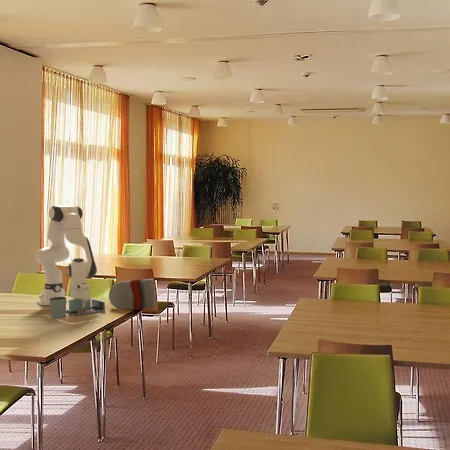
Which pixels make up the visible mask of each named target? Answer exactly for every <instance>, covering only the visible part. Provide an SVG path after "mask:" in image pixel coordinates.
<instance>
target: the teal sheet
mask: <svg viewBox="0 0 450 450" xmlns="http://www.w3.org/2000/svg"><path fill="white" fill-rule="evenodd" d="M81 304H82V300H79V299H74V298H72V299H68V310H69V312H71V311H77V310H84V309H91V307H92V298H91V297H90V299H89V300H88V301H86V303H85V307H81Z"/></svg>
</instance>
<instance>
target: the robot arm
mask: <svg viewBox="0 0 450 450" xmlns="http://www.w3.org/2000/svg"><path fill="white" fill-rule="evenodd" d="M48 213H49V214H48V215H49V219H50V220H49V225H48V230H47V239H48V240H49V241H50V243H51V246H48V247H47V246H46V247H42V248H39V249H38V250H37V251H36V252H35V259H36V262H37V263H39V264H40V265H41V267H42V270H43V271H44V282H45V283H44V287H43V288H44V289H43V290H42V291H41V293H40V294H39V295H38V298H39V300H36V303H38V305H41V306H50V301H49V299H50V298H53V297H66V290H65V289H64V282H63V273H62V272H63V271H62V270H61V269H59V268H58V267H57V263H59V262H60V263H61V262H64V261H66V260H68V258H69V257H70V250H69V248H68V247H67V246H66V243H65V239H66V240H67V242H68V243H70V244H72V245H75V246H79V247H81V248H82V249H83V250H84V253H85V258H86V261H85V260H84V258H78V257H76V258H73V259H72V260H71V263H69V264H68V265H67V275H68V276H69V277H70V278H72V279H71V285H70V288H69V297H70V298H72V299H79V300H82V304H81V307H85V303H86V301H88V300H89V299H90V298H91V294H90V293H91V292H90V289H91V284H89V282H88V281H87V278H94V277H95V276H96V274H97V272H98V267H97V265H96V261H95V257H94V255H93V250H92V246H91V244H90V243H91V242H90V240H89V239H88V237H87V236H86V235H85V234H84V231H83V225H82V218H83V209H82V208H81V207H80V206H78V205H69V204H66V205H65V204H63V205H58V204H56V205H52V206H51V207H50V209H49V212H48ZM66 303H68V299H66Z"/></svg>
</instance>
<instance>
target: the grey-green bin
mask: <svg viewBox="0 0 450 450" xmlns="http://www.w3.org/2000/svg"><path fill="white" fill-rule="evenodd" d="M66 300H67V296H65V297H53V298H50V299H49V301H50V305H49V306H50V314H51V316H50V317H51V319H52V320H58V319H60V318H65V317H67V313H66V310H67V302H66Z"/></svg>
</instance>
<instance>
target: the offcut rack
mask: <svg viewBox="0 0 450 450" xmlns="http://www.w3.org/2000/svg"><path fill="white" fill-rule="evenodd" d="M91 309H93V310H94V311H90V312H84V313H77V311H71V312H69V309H68V310H67V309H66V314H68V315H72V314H74V317H78V316H79V317H80V316H85V315H91V314H92V315H93V314H98V313H105V312H106V303H105V301H102V300H99V299H96V298H91ZM84 310H88V309H84Z"/></svg>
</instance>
